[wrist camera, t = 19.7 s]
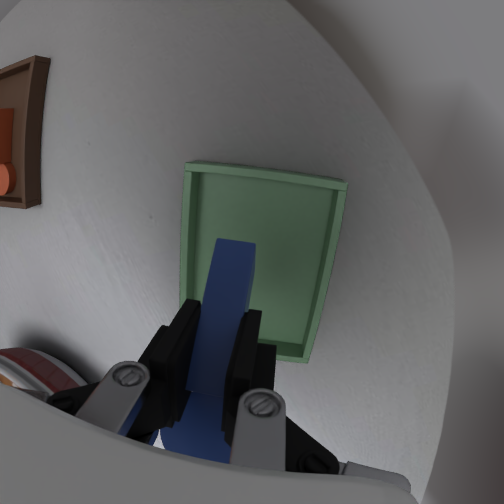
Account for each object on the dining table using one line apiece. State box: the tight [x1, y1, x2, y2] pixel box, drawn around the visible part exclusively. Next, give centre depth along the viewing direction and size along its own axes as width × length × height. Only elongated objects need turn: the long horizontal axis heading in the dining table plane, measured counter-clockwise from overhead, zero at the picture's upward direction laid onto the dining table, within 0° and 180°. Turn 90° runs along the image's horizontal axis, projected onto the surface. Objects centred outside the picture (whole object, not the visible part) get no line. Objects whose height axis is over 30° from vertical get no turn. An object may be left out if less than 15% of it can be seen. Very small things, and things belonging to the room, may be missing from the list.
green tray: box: [180, 161, 348, 363], centre depth 23 cm, size 15×11×2 cm
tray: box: [0, 55, 50, 209], centre depth 21 cm, size 15×11×2 cm
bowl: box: [0, 348, 88, 396], centre depth 30 cm, size 23×23×10 cm
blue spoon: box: [160, 238, 256, 464], centre depth 11 cm, size 10×4×3 cm
